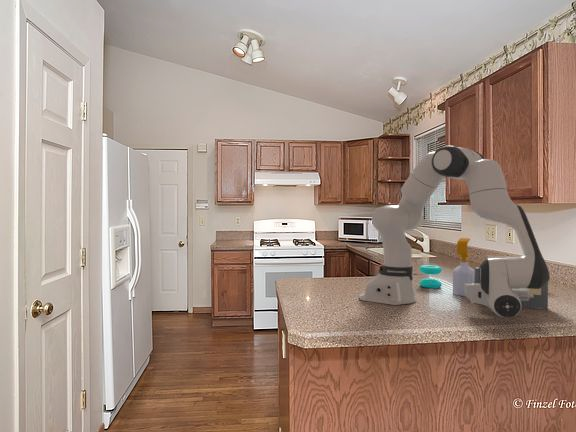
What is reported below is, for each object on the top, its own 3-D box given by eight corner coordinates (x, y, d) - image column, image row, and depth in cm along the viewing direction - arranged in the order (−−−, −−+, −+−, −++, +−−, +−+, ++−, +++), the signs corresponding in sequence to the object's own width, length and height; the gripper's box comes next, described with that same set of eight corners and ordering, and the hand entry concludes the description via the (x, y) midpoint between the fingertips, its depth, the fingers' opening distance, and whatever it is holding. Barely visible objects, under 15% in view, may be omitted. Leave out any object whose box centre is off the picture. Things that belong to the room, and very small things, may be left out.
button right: (528, 294, 134) (528, 283, 134) (523, 290, 140) (524, 280, 140) (541, 295, 132) (541, 284, 132) (536, 291, 139) (536, 280, 139)
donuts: (416, 264, 182) (436, 264, 182) (416, 284, 182) (436, 284, 182) (423, 267, 172) (445, 267, 172) (423, 288, 172) (445, 289, 172)
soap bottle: (478, 294, 161) (478, 238, 160) (471, 297, 154) (471, 239, 154) (456, 291, 167) (457, 237, 167) (449, 294, 160) (450, 238, 160)
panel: (475, 303, 144) (475, 255, 144) (474, 301, 147) (474, 254, 147) (547, 309, 135) (548, 258, 135) (545, 307, 138) (545, 257, 137)
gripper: (535, 288, 118) (525, 280, 131) (465, 283, 126) (462, 277, 139) (535, 307, 119) (525, 298, 131) (465, 302, 126) (462, 293, 139)
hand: (492, 287), depth 135 cm, fingers closed
